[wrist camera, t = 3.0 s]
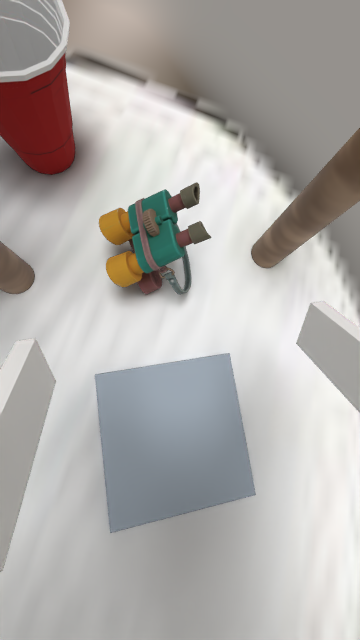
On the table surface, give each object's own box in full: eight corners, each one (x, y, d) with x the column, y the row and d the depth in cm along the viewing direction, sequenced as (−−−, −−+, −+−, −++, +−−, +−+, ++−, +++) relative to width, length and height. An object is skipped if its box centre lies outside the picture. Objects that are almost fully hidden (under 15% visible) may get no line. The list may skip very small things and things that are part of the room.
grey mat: (96, 374, 24) (95, 374, 23) (227, 353, 26) (229, 353, 26) (111, 528, 22) (110, 533, 21) (253, 491, 24) (255, 494, 23)
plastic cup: (84, 207, 27) (35, 88, 15) (-15, 179, 26) (-148, 29, 14) (110, 131, 29) (85, -24, 17) (20, 102, 28) (-71, -82, 16)
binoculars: (148, 236, 30) (86, 192, 21) (217, 204, 26) (180, 135, 17) (162, 308, 28) (102, 295, 19) (237, 285, 25) (208, 257, 16)
